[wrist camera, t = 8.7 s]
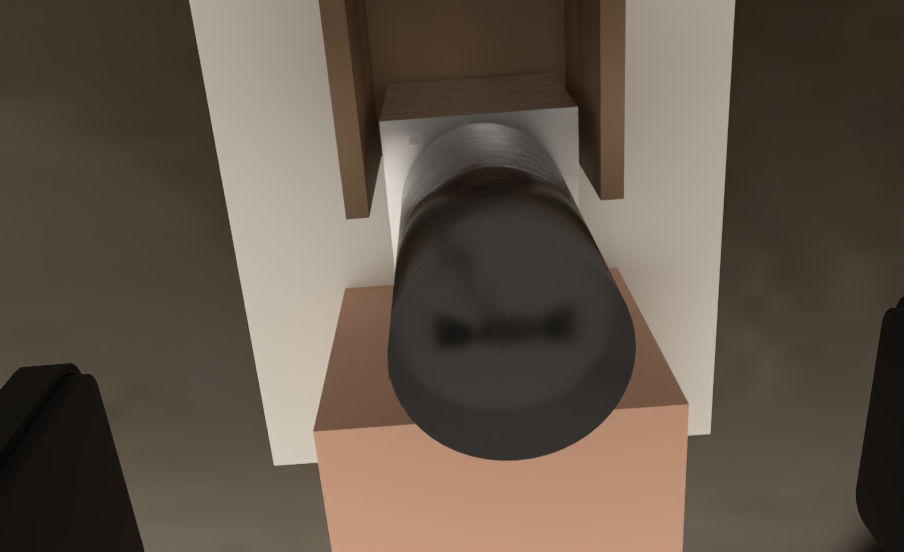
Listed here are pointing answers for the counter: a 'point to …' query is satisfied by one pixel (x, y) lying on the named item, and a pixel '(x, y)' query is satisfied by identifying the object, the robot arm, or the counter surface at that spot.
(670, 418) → the terracotta socket
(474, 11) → the walnut sleeve
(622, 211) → the grey base board
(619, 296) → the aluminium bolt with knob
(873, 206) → the counter surface
